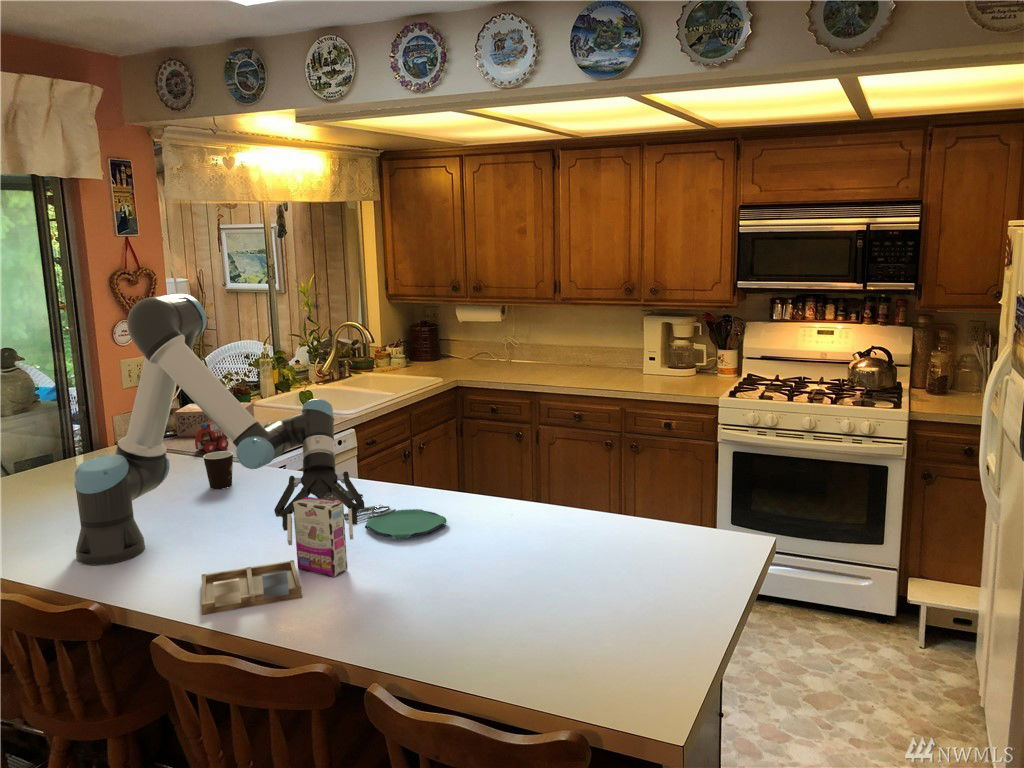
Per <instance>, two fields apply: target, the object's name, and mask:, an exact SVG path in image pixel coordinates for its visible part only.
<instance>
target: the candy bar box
mask: <svg viewBox="0 0 1024 768" xmlns="http://www.w3.org/2000/svg"><path fill="white" fill-rule="evenodd" d="M293 510H294V512H293V521H294V534H295V545H296V560H297V569H298V570H299V571H300V570H301V571H304V572H309V573H313V574H318V575H322V576H323V575H324V576H328V577H331V578H335V577H337V576H339V575H341V574H343V573H344V572H347V570H348V559H347V545H346V543H347V541H346V540H347V539H346V528H345V527H346V526H345V524H346V523H345V517H344V514H345V513H344V512H345V511H344V510H345V509H344V504H343V502H337V501H331V500H325V499H318V498H317V497H311V496H310V497H309V496H308V497H304V498H302V499H300V500H297V501H295V502H293Z"/></svg>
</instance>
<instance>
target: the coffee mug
mask: <svg viewBox="0 0 1024 768" xmlns="http://www.w3.org/2000/svg"><path fill="white" fill-rule="evenodd" d="M233 457H234V453H233V451H225V450H220V451H214V452H212V453H208V452H207V453H206V454H204V455H203V457H202V459H203V462H204V467H205V471H206V475H207V480H208V484H209V488H210V489H211V488H212V490H224V489H223V488H225V489H228V488H227V487H229V488H231V487H232V486H233V468H234V467H233V465H234V464H233V463H234V462H233V461H234V458H233ZM231 485H232V486H231ZM230 486H231V487H230Z"/></svg>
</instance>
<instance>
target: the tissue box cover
mask: <svg viewBox="0 0 1024 768" xmlns="http://www.w3.org/2000/svg"><path fill="white" fill-rule="evenodd" d="M240 403H241V404H242V405H243V406H244V408H245V409H246V410H247V411H248V412H249V413H250V414H251V415H252V416H253V417H254V418H255V411H254V402H240ZM174 417H175V425H176V426H175V427H176V435H177V437H196V436H197V433H198V430H199V429H202V428H201V425H202V424H208V423H211V422H213V421H212V420H211V419H210V418H209V417H208V416H207V415H206V414H205V413H204V412H203V411H202V410H201V409H200V408H199V407H198V406H197V405H196V403H189V404H187V405H185V406H183V407H182V408H179V409H178V410H176V411H174ZM207 433H208V432H207Z"/></svg>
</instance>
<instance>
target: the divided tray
mask: <svg viewBox="0 0 1024 768" xmlns="http://www.w3.org/2000/svg"><path fill="white" fill-rule="evenodd" d="M302 598H303V588H302V585H301V582H300V579H299V575H298V571H297V568H296V564H295V559H293V560H287V561H282V562H281V561H280V562H275V563H274V562H273V563H268V564H260V565H255V566H248V567H243V568H236V569H229V570H224V571H216V572H211V573H202V574H201V603H200V606H201V607H200V609H201V615H203V616H205V615H209V614H215V613H221V612H226V611H233V610H238V609H239V610H240V609H243V608H244V609H245V608H249V607H250V608H251V607H254V606H255V607H256V606H262V605H266V604H267V605H268V604H272V603H277V602H278V603H279V602H285V601H290V600H296V599H302Z"/></svg>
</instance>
